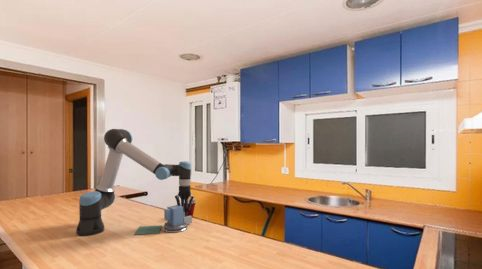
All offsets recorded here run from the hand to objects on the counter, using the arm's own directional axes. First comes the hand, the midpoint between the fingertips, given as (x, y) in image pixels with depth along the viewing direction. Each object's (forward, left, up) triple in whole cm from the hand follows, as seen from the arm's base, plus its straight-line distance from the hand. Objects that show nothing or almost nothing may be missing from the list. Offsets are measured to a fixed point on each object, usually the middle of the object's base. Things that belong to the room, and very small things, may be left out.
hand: (184, 221), depth 181 cm
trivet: (-21, -8, -2) cm, 22 cm away
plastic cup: (+2, +17, -3) cm, 17 cm away
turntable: (-3, -6, -1) cm, 6 cm away
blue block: (-6, -8, 0) cm, 10 cm away
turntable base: (-5, -7, -2) cm, 9 cm away
